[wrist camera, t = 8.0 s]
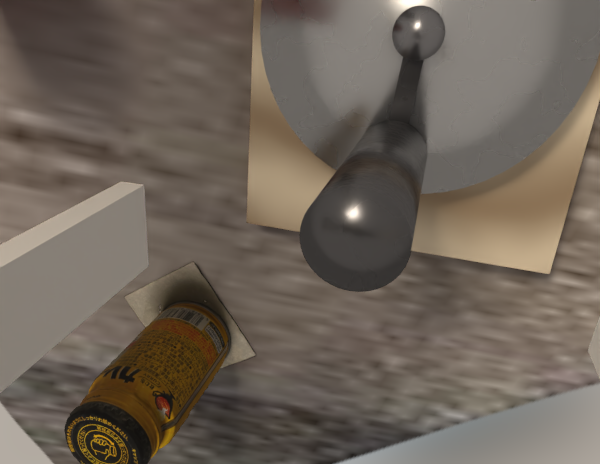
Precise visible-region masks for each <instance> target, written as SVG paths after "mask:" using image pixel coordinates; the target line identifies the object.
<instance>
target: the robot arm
mask: <svg viewBox="0 0 600 464" xmlns="http://www.w3.org/2000/svg"><path fill="white" fill-rule="evenodd" d="M148 266H149V261H148V243H147V225H146V206H145V188H144V185H142V184H136V183H129V182H123V181H121V182H119V183H117V184H115V185H113V186H112V187H110V188H108V189H106V190H104V191H102V192H100V193H98V194H96V195H94V196H92V197H90V198H89V199H87V200H85V201H83V202H81V203H79V204H77V205H75V206H73V207H71V208H69V209H68V210H66V211H64V212H62V213H60V214H58V215H56V216H54V217H52V218H50V219H48V220H47V221H45V222H43V223H41V224H39V225H37V226H35V227H33V228H31V229H29V230H27V231H26V232H24V233H22V234H20V235H18V236H16V237H14V238H12V239H10V240H8V241H6V242H4V243H3V244H1V245H0V393H1V392H2V391H3V390H4V389H5V388H7V387H8V386H9V385H10V384H11V383H12V382H14V381H15V380H16V379H17V378H18V377H19V376H21V375H22V374H23V373H24V372H25V371H27V370H28V369H29V368H30V367H31V366H32V365H34V364H35V363H36V362H37V361H38V360H39V359H41V358H42V357H43V356H44V355H45V354H46V353H48V352H49V351H50V350H51V349H52V348H53V347H55V346H56V345H57V344H58V343H59V342H60V341H62V340H63V339H64V338H65V337H66V336H67V335H69V334H70V333H71V332H72V331H73V330H75V329H76V328H77V327H78V326H79V325H80V324H82V323H83V322H84V321H85V320H86V319H87V318H89V317H90V316H91V315H92V314H93V313H94V312H96V311H97V310H98V309H99V308H100V307H101V306H103V305H104V304H105V303H106V302H107V301H108V300H110V299H111V298H112V297H113V296H114V295H116V294H117V293H118V292H119V291H120V290H121V289H123V288H124V287H125V286H126V285H127V284H128V283H130V282H131V281H132V280H133V279H134V278H135V277H137V276H138V275H139V274H140V273H141V272H142V271H144V270H145V269H146V268H147V267H148ZM588 352H589V355H590V357H591V360H592V362H593V364H594V367H595V369H596V372H597V374H598V377H599V379H600V317H599V320H598V322H597V325H596V328H595V331H594V334H593V337H592V340H591V342H590V345H589V348H588Z"/></svg>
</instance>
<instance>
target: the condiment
mask: <svg viewBox="0 0 600 464" xmlns="http://www.w3.org/2000/svg"><path fill="white" fill-rule="evenodd" d="M125 299H126V300H127V302H128V303H129V305H130V307H131V308H132V309H133V310H134V311H135V313H136V315H137V317H138V318H139V320H140V321H141V322H142V323H143V325H144V326H145V329H144V330H143V331H142V332H141V333H140V334H139V335H138V336H137V337H136V338H135V340H133V342H132V343H131V344H130V345H129V346H128V347H127V348H126V349H125V350H124V351H123V352H122V353H121V354H120V355H119V356H118V357H117V358H116V359H114V360H113V361H112V362H111V364H110V365H109V366H108V367H107V368H106V369H105V370H104V371H103V372H102V373H101V374H100V375H99V376H98V377H97V378H96V379H95V381H94V382H93V383H92V385H91V387H90V389H89V394H88V395H86V397H85V398H84V399H83V401H82V402H81V404H80V406H78V407H76V408H75V409H74V410H73V411H72V412H71V414H70V416H69V417H68V419H67V422H66V425H65V435H66V440H67V444H68V447H69V448H70V451H71V452H72V454H73V456H74V457H75V458H76V459H77V460H78V461H79V462H80V463H81V464H148V462H149V461H150V459H151V458H152V457H153V456H154V455H155V454H156V452H157V451H158V449H160V448H162V447H164V446H165V445H167V444H168V443H169V442H170V441H171V440H172V438H173V437H174V436H175V434H176V433H177V432H178V431H179V429H180V427H181V425H182V424H183V423H184V422H185V420H186V419H187V418H188V416H189V413H190V411H191V410H192V408H193V407H194V405H195V404H196V403H197V402H198V401H199V399H200V397H201V395H202V394H203V393H204V391H205V390H206V389H207V388H208V385H209V383H210V382H212V380H213V378H214V376H215V374H216V373H217V372H218V370H219V369H221V368H223V367H226V366H228V365H231V364H234V363H237V362H240V361H242V360H245V359H248V358H250V357H253V356H255V353H254V352H253V350H252V349H251V347H250V345H249V344H248V342H247V341H246V339H245V337H244V336H243V334H242V333H241V332H240V330H239V328H238V326H237V325H236V323H235V322H234V320H233V319H232V318H231V316H230V314H229V313H228V312H227V311H226V309H225V307H224V306H223V305H222V304H221V303H220V301H219V300H218V298H217V296H216V294H215V293H214V291H213V290H212V288H211V286H210V285H209V283H208V282H207V281H206V279H205V278H204V277H203V276H202V274H201V273H200V271H199V270H198V268H197V267H196V265H195V263H194V262H192V263H190V264H188V265H186V266H183V267H182V268H180V269H178V270H176V271H174V272H172V273H170V274H167V275H166V276H164V277H162V278H160V279H158V280H156V281H154V282H151V283H150V284H148V285H146V286H144V287H142V288H140V289H138V290H136V291H135V292H133V293H131V294H129V295H127V296H125ZM204 301H206V302H204ZM159 306H161V309H159ZM159 311H161V313H159Z"/></svg>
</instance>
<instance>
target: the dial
mask: <svg viewBox="0 0 600 464" xmlns="http://www.w3.org/2000/svg"><path fill="white" fill-rule="evenodd" d="M260 38H261V51H262V57H263V62H264V67H265V72H266V75H267V79H268V82H269V85H270V88H271V91H272V94H273V96H274V98H275V100H276V102H277V105H278V107H279V109H280V111H281V113H282V114H283V116H284V118H285V119H286V121H287V123H288V124H289V126H290V127H291V129H292V130H293V131H294V132H295V134H296V135H297V136H298V137H299V139H300V140H301V141H302V142H303V143H304V144H305V145H306V146H307V147H308V148H309V149H310V150H311V151H312V152H313V153H314V154H315V155H316V156H317V157H318V158H320V159H321V160H322V161H323V162H325V163H326V164H327V165H329V166H330V167H331V168H333V169H335V170H336V172H335V174H334V175H333V176H332V178H331V179H330V180H329V182H328V183H327V184H326V186H325V187H324V188H323V190H322V191H321V192H320V194H319V195H318V196H317V198H316V199H315V200H314V201H313V203H312V204H311V205H310V207H309V208H308V209H307V211H306V213H305V215H304V217H303V220H302V223H301V227H300V244H301V249H302V252H303V255H304V257H305V259H306V261H307V263H308V264H309V266H310V267H311V268H312V270H313V271H314V272H315V273H316V274H317V275H318V276H319V277H320V278H322V279H323V280H324V281H326V282H328V283H329V284H331V285H333V286H335V287H338V288H341V289H344V290H349V291H357V292H361V291H371V290H375V289H378V288H381V287H383V286H385V285H387V284H389V283H390V282H392V281H393V280H394V279H396V278H397V277H398V276H399V275H400V273H401V272H402V271H403V269H404V268H405V266H406V264H407V262H408V260H409V257H410V254H411V248H412V242H413V237H414V231H415V225H416V219H417V213H418V208H419V202H420V196H421V194H429V193H440V192H447V191H452V190H457V189H461V188H466V187H468V186H471V185H474V184H477V183H480V182H483V181H486V180H488V179H490V178H492V177H494V176H496V175H498V174H500V173H502V172H505V171H506V170H508V169H509V168H511V167H513V166H514V165H516V164H517V163H519V162H520V161H522V160H524V159H525V158H526V157H527V156H529V155H530V154H531V153H532V152H534V151H535V150H536V149H537V148H538V147H540V146H541V145H542V144H543V143H544V142H545V141H546V140H547V139H548V138H549V137H550V136H551V135H552V134H553V133H554V132H555V131H556V130H557V129H558V128H559V127H560V125H561V124H562V123H563V121H564V120H565V119H566V117H567V116H568V115H569V113H570V112H571V111H572V110H573V108H574V107H575V105H576V103H577V102H578V100H579V98H580V96H581V95H582V93H583V91H584V90H585V88H586V86H587V84H588V82H589V79H590V77H591V75H592V72H593V70H594V68H595V65H596V63H597V60H598V56H599V53H600V0H262V4H261V17H260Z"/></svg>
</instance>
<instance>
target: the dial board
mask: <svg viewBox="0 0 600 464" xmlns="http://www.w3.org/2000/svg"><path fill="white" fill-rule="evenodd" d="M261 4H262V0H254V14H253V44H252V74H251V104H250V134H249V164H248V195H247V223H251V224H257V225H262V226H268V227H274V228H280V229H286V230H292V231H298V232H300V227H301V223H302V220H303V217H304V215H305V213H306V211H307V209H308V208H309V207H310V205H311V204H312V203H313V201H314V200H315V199H316V198H317V196H318V195H319V194H320V192H321V191H322V190H323V188H324V187H325V186H326V184H327V183H328V182H329V180H330V179H331V178H332V176H333V175H334V174H335V172H336V170H335V169H333V168H331V167H330V166H329V165H327V164H326V163H325V162H323V161H322V160H321V159H320V158H318V157H317V156H316V155H315V154H314V153H313V152H312V151H311V150H310V149H309V148H308V147H307V146H306V145H305V144H304V143H303V142H302V141H301V140H300V139H299V137H298V136H297V135H296V134H295V132H294V131H293V130H292V129H291V127H290V126H289V124H288V123H287V121H286V119H285V118H284V116H283V114H282V113H281V111H280V109H279V107H278V105H277V102H276V100H275V98H274V96H273V94H272V91H271V88H270V85H269V82H268V79H267V75H266V72H265V67H264V62H263V57H262V51H261V38H260V17H261ZM599 101H600V53H599V56H598V60H597V63H596V65H595V68H594V70H593V72H592V75H591V77H590V79H589V82H588V84H587V86H586V88H585V90H584V91H583V93H582V95H581V96H580V98H579V100H578V102H577V103H576V105H575V107H574V108H573V110H572V111H571V112H570V113H569V115H568V116H567V117H566V119H565V120H564V121H563V123H562V124H561V125H560V127H559V128H558V129H557V130H556V131H555V132H554V133H553V134H552V135H551V136H550V137H549V138H548V139H547V140H546V141H545V142H544V143H543V144H542V145H541V146H540V147H538V148H537V149H536V150H535V151H534V152H532V153H531V154H530V155H529V156H527V157H526V158H525V159H524V160H522V161H520V162H519V163H517V164H516V165H514V166H513V167H511V168H509V169H508V170H506V171H505V172H502V173H500V174H498V175H496V176H494V177H492V178H490V179H488V180H486V181H483V182H480V183H477V184H474V185H471V186H468V187H466V188H461V189H457V190H452V191H447V192H440V193H429V194H421V196H420V202H419V208H418V213H417V219H416V225H415V231H414V237H413V242H412V248H411V251H416V252H422V253H428V254H433V255H439V256H445V257H451V258H457V259H463V260H469V261H475V262H481V263H487V264H492V265H498V266H504V267H510V268H516V269H522V270H528V271H534V272H540V273H546V274H550V271H551V267H552V264H553V260H554V257H555V253H556V250H557V246H558V243H559V239H560V236H561V232H562V229H563V225H564V222H565V218H566V215H567V212H568V208H569V205H570V201H571V198H572V194H573V191H574V187H575V184H576V180H577V177H578V173H579V170H580V166H581V163H582V159H583V156H584V153H585V149H586V146H587V142H588V139H589V135H590V132H591V128H592V125H593V121H594V118H595V114H596V111H597V107H598V104H599Z"/></svg>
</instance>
